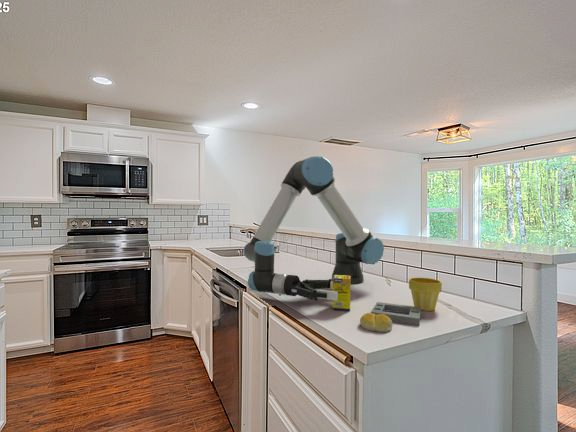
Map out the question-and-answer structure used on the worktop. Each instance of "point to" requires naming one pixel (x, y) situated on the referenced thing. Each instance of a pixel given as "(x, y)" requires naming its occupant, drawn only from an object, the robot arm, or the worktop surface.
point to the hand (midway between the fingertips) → (343, 291)
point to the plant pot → (425, 292)
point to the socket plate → (402, 318)
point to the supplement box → (342, 292)
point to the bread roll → (376, 322)
